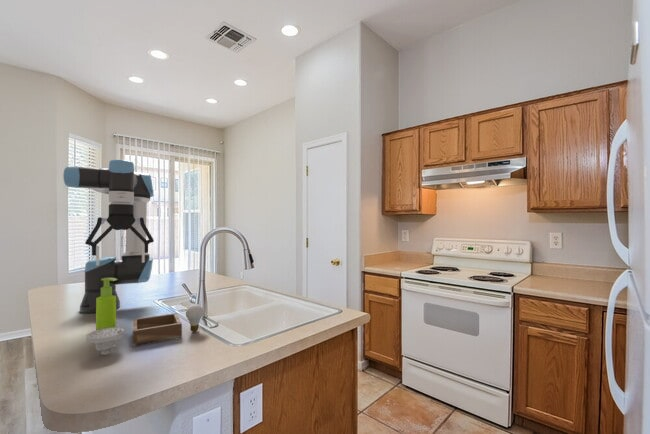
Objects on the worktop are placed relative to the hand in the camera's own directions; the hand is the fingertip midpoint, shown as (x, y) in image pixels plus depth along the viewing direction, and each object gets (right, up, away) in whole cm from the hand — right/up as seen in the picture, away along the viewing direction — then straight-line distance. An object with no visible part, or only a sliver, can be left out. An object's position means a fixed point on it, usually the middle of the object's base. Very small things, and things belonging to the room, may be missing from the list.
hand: (121, 263), depth 112 cm
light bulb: (+25, -26, +3) cm, 36 cm away
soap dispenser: (-5, -26, +1) cm, 26 cm away
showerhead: (+6, -25, -16) cm, 30 cm away
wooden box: (+13, -25, -1) cm, 28 cm away
